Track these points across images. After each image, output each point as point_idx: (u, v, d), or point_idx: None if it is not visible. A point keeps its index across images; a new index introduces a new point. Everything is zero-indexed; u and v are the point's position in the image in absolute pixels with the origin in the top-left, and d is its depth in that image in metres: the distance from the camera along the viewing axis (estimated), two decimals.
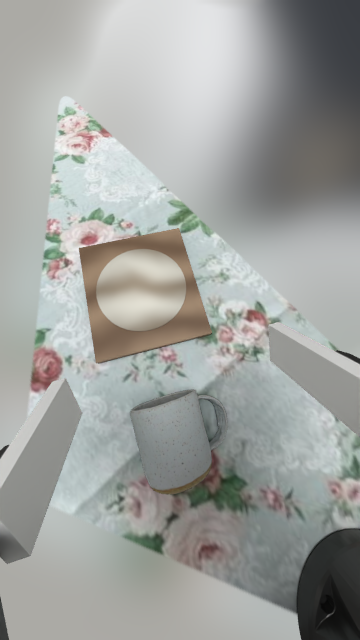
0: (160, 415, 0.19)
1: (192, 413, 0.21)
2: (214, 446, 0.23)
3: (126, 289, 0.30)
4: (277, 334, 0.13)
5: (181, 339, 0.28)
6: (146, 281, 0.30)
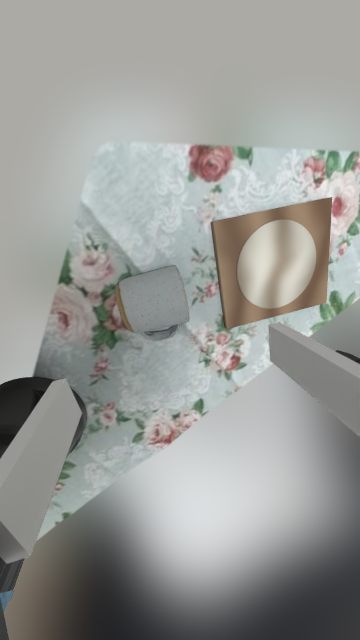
0: (178, 299, 0.23)
1: (175, 322, 0.26)
2: (142, 331, 0.29)
3: (278, 251, 0.30)
4: (277, 334, 0.13)
5: (224, 303, 0.32)
6: (282, 271, 0.31)
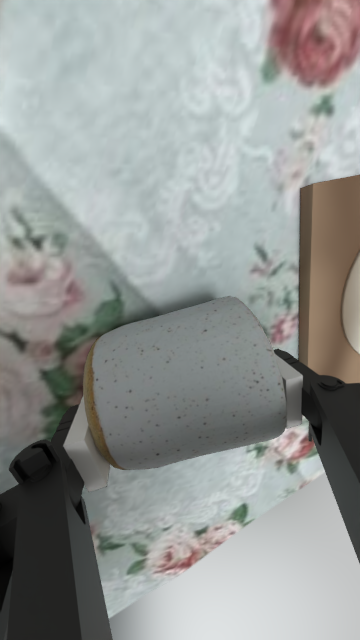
0: (267, 410, 0.08)
1: None
2: None
3: None
4: None
5: (310, 356, 0.16)
6: None
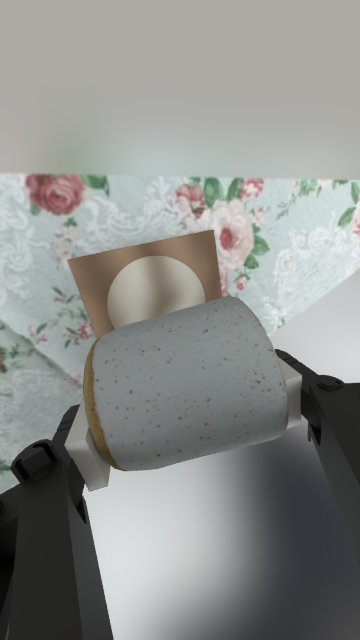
0: (269, 411, 0.08)
1: None
2: None
3: (156, 290, 0.27)
4: None
5: None
6: (165, 311, 0.28)
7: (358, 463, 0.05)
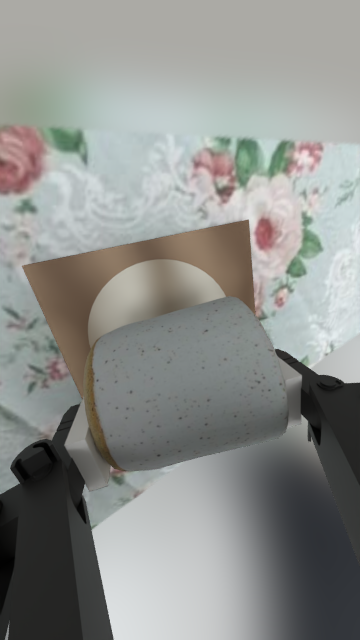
0: (269, 411, 0.08)
1: None
2: None
3: (161, 311, 0.18)
4: None
5: (80, 391, 0.19)
6: None
7: (358, 463, 0.05)
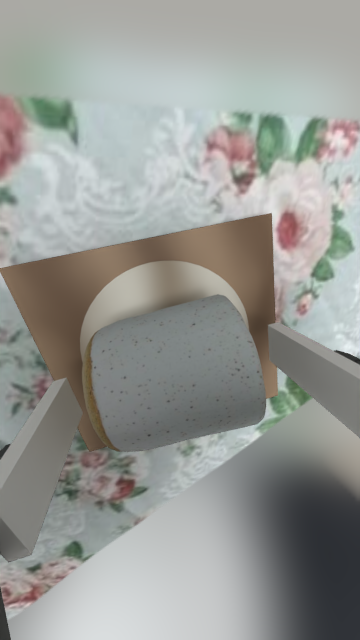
0: (247, 396, 0.09)
1: None
2: None
3: None
4: (276, 334, 0.13)
5: None
6: None
7: None
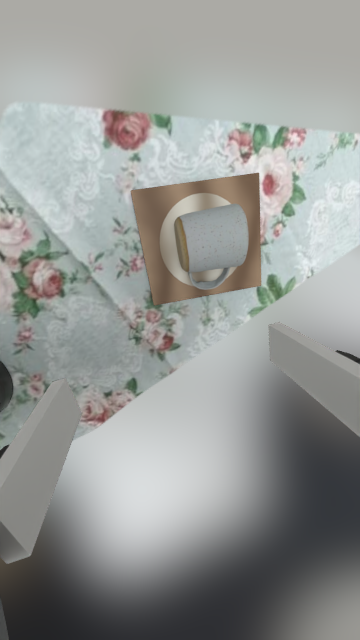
0: (241, 232, 0.23)
1: (232, 260, 0.25)
2: (191, 276, 0.29)
3: None
4: (277, 334, 0.13)
5: (149, 278, 0.31)
6: None
7: None
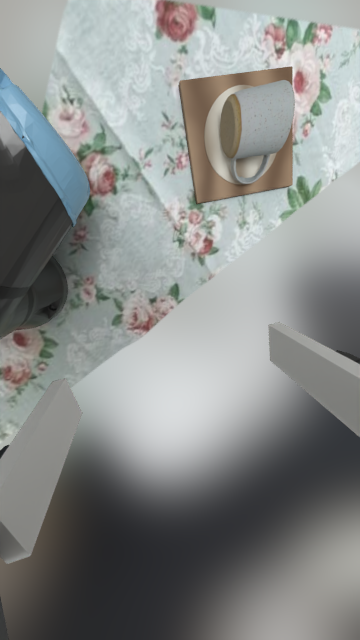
0: (288, 99, 0.26)
1: (277, 134, 0.29)
2: (235, 165, 0.32)
3: None
4: (277, 334, 0.13)
5: (194, 173, 0.34)
6: None
7: None
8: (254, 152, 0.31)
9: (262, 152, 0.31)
